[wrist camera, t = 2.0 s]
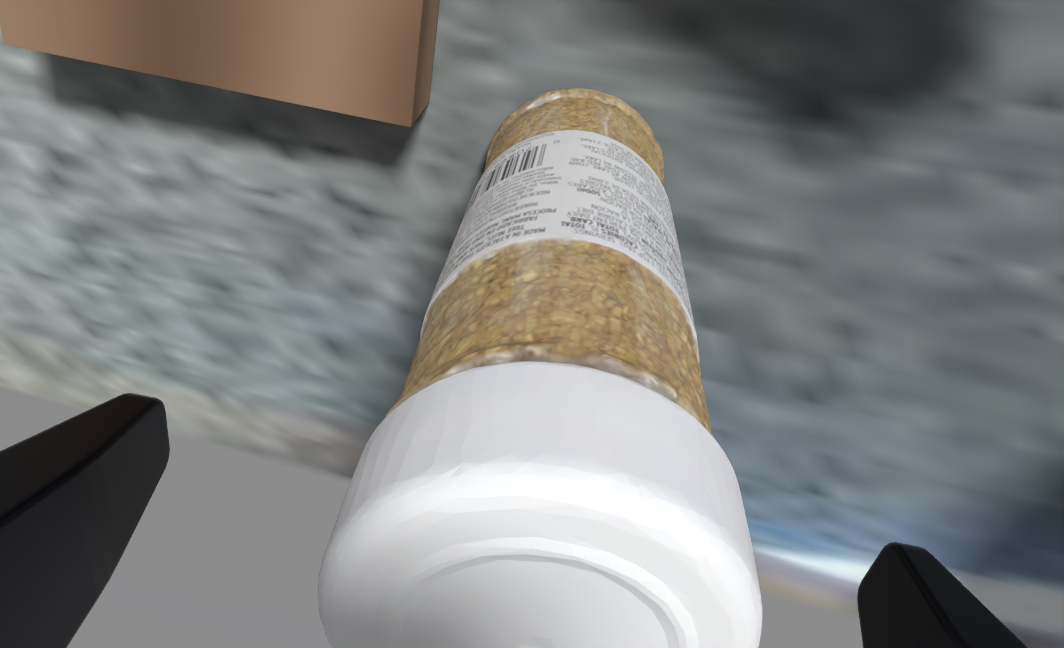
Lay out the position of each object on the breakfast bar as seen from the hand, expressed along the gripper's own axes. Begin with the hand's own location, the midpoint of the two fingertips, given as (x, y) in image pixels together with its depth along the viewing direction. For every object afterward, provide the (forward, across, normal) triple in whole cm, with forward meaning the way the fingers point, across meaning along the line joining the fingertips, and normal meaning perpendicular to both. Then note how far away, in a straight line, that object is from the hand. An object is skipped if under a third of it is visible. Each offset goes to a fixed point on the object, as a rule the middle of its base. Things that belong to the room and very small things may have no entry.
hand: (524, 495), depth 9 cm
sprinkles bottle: (+12, 0, 0) cm, 12 cm away
